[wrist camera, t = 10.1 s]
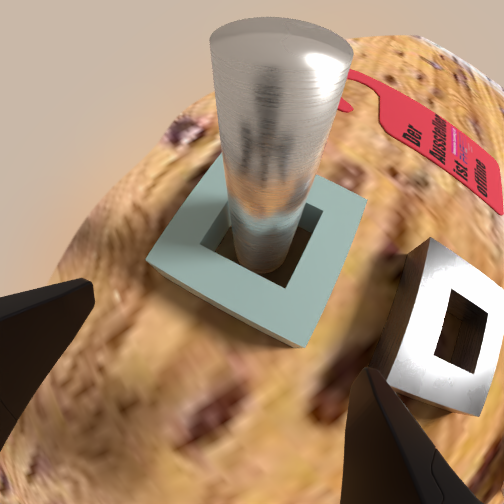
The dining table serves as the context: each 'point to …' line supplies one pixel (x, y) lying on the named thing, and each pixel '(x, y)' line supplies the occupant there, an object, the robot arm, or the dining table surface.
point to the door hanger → (435, 140)
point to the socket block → (429, 327)
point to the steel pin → (273, 125)
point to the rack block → (247, 282)
